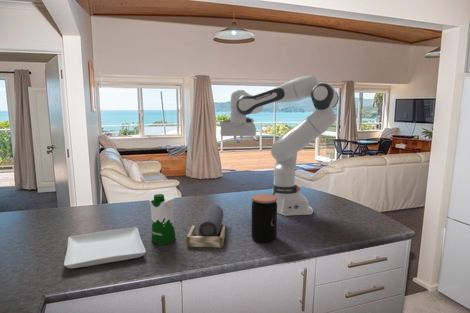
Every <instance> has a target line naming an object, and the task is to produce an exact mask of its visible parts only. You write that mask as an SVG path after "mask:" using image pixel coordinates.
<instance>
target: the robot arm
mask: <svg viewBox="0 0 470 313" xmlns="http://www.w3.org/2000/svg"><path fill="white" fill-rule="evenodd" d="M307 98H311V101H312V103H313V104H312V105H313V107H314V108H315V110H314V111H313V113H311V114H310V115H308V116H307V117H306V118H305V119H303V120H302V121H301V122H300V123H298V124H297V125H296V126H294V127H293V128H292V129H290V130H289V131H288V132H286V133H285V134H284V135H282V136H281V137H280V138H278V139H277V140H275V142H273V144H272V145H271V148H270V153H271V157H273V159H274V160H275V165H274V168H273V184H272V195H274V196H276V197H277V201H276V202H277V215H278V214H279V215H281V216H285V217H287V216H307V215H313V213H314V210H313V208H312V207H311V206H310V205H309V201H308V199H307V197H305V196H304V195H303V194H302V193H300V191H301V188H300V187H299V185H297V184H296V183H295V182H296V180H295V179H296V164H297V157H298V153H299V152H300V151H301V150H303V148H305V147H307V146H308V145H310V143H312V142H314V141H315V140H316V139H317V138H319V137H320V136H321V135H322V134H323V133H325V132H327V131H328V129H330V128H331V127H332V126H333V124H335V122H336V120H337V116H336V114H335V113H336V112H335V111H334V110H333V108H336V106H337V105H338V103H339V100H340V99H339V93H338V92H337V91H336V89H335V88H334V87H333V86H331V85H330V84H328V83H323V82H319V80H318V78H317V77H316V76H315V75H313V74H310V75H303V76H299V77H296V78H293V79H290V80H288V81H286V82H283V83H281V84H280V85H279V86H276V87H274V88H272V89H270V90H267V91H264V92H261V93H258V94H255V95H253V94H251V93H248V92H246V90H243V89H238V90H235V91H233V92H232V93H231V95H230V102H229V103H230V104H229V105H230V119H222V120H220V122H219V127H220V136H221V137H228V136H229V137H233V139H234V140H235V144H236V145H241V144H242V140H243V138H244V137H255V136H257V130H256V129H257V128H256V124H255V123H254V121H255V120H254V118H253V117H252V118H251V117H249V116H247V115H255V114H259V113H261V111H262V109H263V107H264V106H266V105H269V104H270V105H271V104H273V103H292V102H298V101H301V100H304V99H307ZM237 137H240V139H239V140H237Z"/></svg>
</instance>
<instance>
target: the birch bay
mask: <svg viewBox="0 0 470 313" xmlns="http://www.w3.org/2000/svg"><path fill="white" fill-rule="evenodd" d="M219 234H220V235H219V236H217V237H216V236H200V235H196V226H195V225H191V227H190V230H189V232H188V234H187V235H186V248H189V247H190V248H193V247H194V248H195V247H196V248H197V247H198V248H223V247H224V244H225V243H224V242H225V237H226V226H225V225H221V228H220V233H219Z"/></svg>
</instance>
